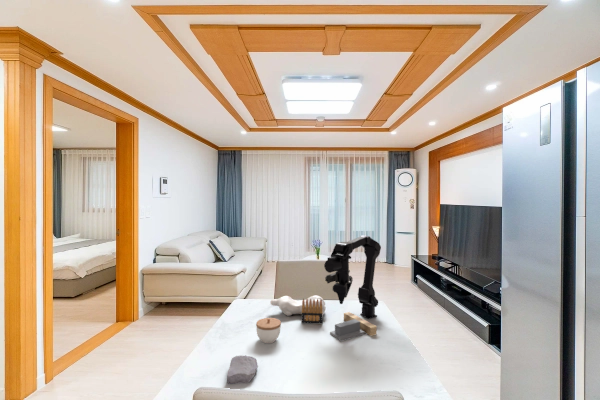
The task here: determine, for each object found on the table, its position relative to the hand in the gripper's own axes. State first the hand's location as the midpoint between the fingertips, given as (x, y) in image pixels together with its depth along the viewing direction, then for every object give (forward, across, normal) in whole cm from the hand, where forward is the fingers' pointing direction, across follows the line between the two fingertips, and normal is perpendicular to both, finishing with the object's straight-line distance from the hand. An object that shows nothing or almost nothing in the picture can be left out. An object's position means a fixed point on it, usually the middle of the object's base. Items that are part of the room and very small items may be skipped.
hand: (343, 300), depth 143 cm
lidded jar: (+12, +26, -28) cm, 40 cm away
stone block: (+12, +52, -25) cm, 58 cm away
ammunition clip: (+13, +1, -16) cm, 20 cm away
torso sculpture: (+13, -8, -27) cm, 31 cm away
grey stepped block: (+13, +7, +3) cm, 15 cm away
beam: (+13, -2, +7) cm, 15 cm away
